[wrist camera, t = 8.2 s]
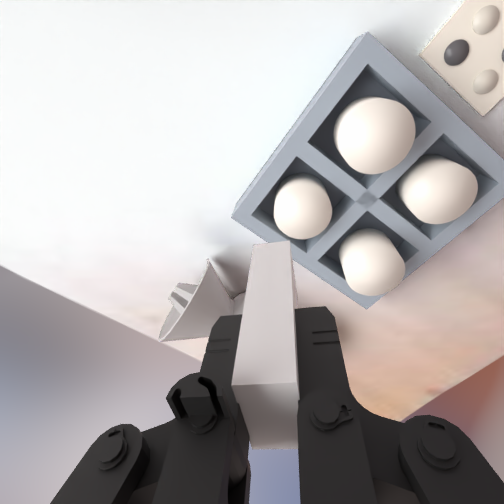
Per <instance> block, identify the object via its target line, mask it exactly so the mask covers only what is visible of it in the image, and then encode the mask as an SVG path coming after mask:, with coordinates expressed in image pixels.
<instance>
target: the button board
mask: <svg viewBox="0 0 504 504" xmlns="http://www.w3.org/2000/svg"><path fill="white" fill-rule="evenodd" d="M367 96H375V97H380V98H385V99H390V100H394V101H397V102H399V103H401V104H403V105H404V106H405V107H406V108H407V109H408V110H409V111H410V113H411V114H412V116H413V119H414V122H415V139H414V142H413V145H412V147H411V149H410V151H409V153H408V154H407V156H406V157H405V158H404V159H403V160H402V161H401V162H400V163H399V164H398V165H397V166H395V167H394V168H392V169H390V170H388V171H386V172H383V173H379V174H364V173H361V172H358V171H356V170H354V169H353V168H352V167H351V166H349V165H348V163H347V162H346V161H345V159H344V158H343V157H342V155H341V154H340V153H339V151H338V150H337V148H336V146H335V143H334V137H333V132H334V126H335V123H336V120H337V118H338V116H339V114H340V113H341V112H342V110H343V109H344V108H345V107H346V106H347V105H348V104H350V103H351V102H353V101H355V100H356V99H359V98H362V97H367ZM427 154H437V155H441V156H443V157H445V158H447V159H449V160H451V161H453V162H455V163H457V164H459V165H461V166H463V167H465V168H467V169H469V170H470V171H471V172H472V173H473V174H474V176H475V177H476V180H477V184H478V190H477V195H476V198H475V200H474V202H473V204H472V205H471V207H470V208H469V209H468V210H467V211H466V212H465V213H464V214H462V215H461V216H460V217H458V218H457V219H455V220H453V221H450V222H447V223H443V224H429V223H425V222H423V221H421V220H419V219H418V218H417V217H416V216H415V215H414V214H413V213H412V212H411V211H410V210H409V209H408V208H407V207H406V206H405V205H404V203H403V202H402V201H401V200H400V199H399V197H398V196H397V193H396V181H397V180H398V179H399V178H400V177H401V176H402V175H403V174H404V173H405V172H406V171H407V170H408V169H409V168H410V167H411V166H412V165H413V164H414V163H415V162H416V161H417V160H418V158H419V157H420V156H422V155H427ZM297 173H307V174H311V175H313V176H315V177H317V178H318V179H319V180H320V181H321V182H322V183H323V185H324V186H325V189H326V191H327V194H328V197H329V200H330V202H331V206H332V217H331V220H330V222H329V224H328V226H327V227H326V228H325V230H324V231H322V232H321V233H320V234H318V235H317V236H315V237H312V238H308V239H295V238H292V237H289V236H287V235H286V234H284V233H283V232H282V231H281V230H280V229H279V228H278V226H277V224H276V222H275V219H274V204H275V194H276V191H277V188H278V186H279V185H280V183H281V182H282V181H283V180H284V179H286V178H287V177H289V176H291V175H293V174H297ZM503 198H504V159H502V158H501V157H500V156H499V155H498V154H497V153H496V152H495V151H494V150H493V149H492V148H491V147H490V146H489V145H488V144H487V143H486V142H484V141H483V140H482V139H481V138H480V137H479V136H478V135H477V134H476V133H475V132H474V131H473V130H472V129H471V128H470V127H469V126H468V125H466V124H465V123H464V122H463V121H462V120H461V119H460V118H459V117H458V116H457V115H456V114H455V113H454V112H453V111H452V110H451V109H450V108H448V107H447V106H446V105H445V104H444V103H443V102H442V101H441V100H440V99H439V98H438V97H437V96H436V95H435V94H434V93H433V92H431V91H430V90H429V89H428V88H427V87H426V86H425V85H424V84H423V83H422V82H421V81H420V80H419V79H418V78H417V77H416V76H415V75H413V74H412V73H411V72H410V71H409V70H408V69H407V68H406V67H405V66H404V65H403V64H402V63H401V62H400V61H399V60H398V59H397V58H395V57H394V56H393V55H392V54H391V53H390V52H389V51H388V50H387V49H386V48H385V47H384V46H383V45H382V44H381V43H380V42H378V41H377V40H376V39H375V38H374V37H373V36H372V35H371V34H370V33H369V32H366V33H364V34H363V35H361V36H359V37H357V38H356V39H355V41H354V42H353V43H352V45H351V46H350V48H349V49H348V50H347V52H346V53H345V54H344V56H343V57H342V59H341V60H340V61H339V63H338V64H337V66H336V67H335V68H334V70H333V71H332V72H331V74H330V75H329V77H328V78H327V79H326V81H325V82H324V83H323V85H322V86H321V88H320V89H319V90H318V92H317V93H316V94H315V96H314V97H313V99H312V100H311V101H310V103H309V104H308V105H307V107H306V108H305V110H304V111H303V112H302V114H301V115H300V117H299V118H298V119H297V121H296V122H295V123H294V125H293V126H292V128H291V129H290V130H289V132H288V133H287V134H286V136H285V137H284V139H283V140H282V141H281V143H280V144H279V145H278V147H277V148H276V150H275V151H274V152H273V154H272V155H271V157H270V158H269V159H268V161H267V162H266V163H265V165H264V166H263V168H262V169H261V170H260V172H259V173H258V174H257V176H256V177H255V179H254V180H253V181H252V183H251V184H250V185H249V187H248V188H247V190H246V191H245V192H244V194H243V195H242V196H241V198H240V199H239V201H238V202H237V204H236V206H235V209H234V211H233V214H232V217H231V218H232V219H234V220H235V221H237V222H238V223H240V224H241V225H243V226H244V227H246V228H247V229H249V230H250V231H252V232H253V233H255V234H256V235H257V236H259V237H260V238H262V239H263V240H265V241H266V242H268V243H273V242H281V241H289V240H290V246H291V253H292V259H293V260H294V261H296V262H297V263H299V264H300V265H302V266H303V267H305V268H306V269H308V270H309V271H311V272H312V273H314V274H315V275H317V276H318V277H320V278H321V279H322V280H324V281H325V282H327V283H328V284H330V285H331V286H333V287H334V288H336V289H337V290H339V291H340V292H342V293H343V294H345V295H346V296H348V297H349V298H351V299H352V300H353V301H355V302H356V303H358V304H359V305H361V306H362V307H364V308H365V309H368V308H369V307H370V306H372V305H373V304H374V303H375V302H377V301H378V300H379V299H380V298H381V297H383V296H384V295H385V294H386V293H385V294H382V295H377V296H366V295H362V294H359V293H357V292H355V291H354V290H352V289H351V288H350V287H349V285H348V283H347V281H346V278H345V275H344V271H343V268H342V265H341V261H340V258H339V248H340V245H341V243H342V242H343V240H344V239H345V238H346V237H347V236H348V235H350V234H351V233H353V232H355V231H357V230H360V229H366V228H371V229H377V230H379V231H382V232H383V233H385V234H386V235H387V236H388V238H389V239H390V241H391V242H392V244H393V245H394V247H395V248H396V250H397V251H398V253H399V254H400V256H401V257H402V259H403V261H404V263H405V274H404V277H403V279H402V280H404V279H405V278H406V277H407V276H408V275H410V274H411V273H412V272H413V271H415V270H416V269H417V268H418V267H419V266H421V265H422V264H423V263H424V262H426V261H427V260H428V259H429V258H430V257H432V256H433V255H434V254H435V253H437V252H438V251H439V250H440V249H441V248H443V247H444V246H445V245H446V244H448V243H449V242H450V241H451V240H452V239H454V238H455V237H456V236H457V235H459V234H460V233H461V232H462V231H463V230H465V229H466V228H467V227H468V226H470V225H471V224H472V223H473V222H475V221H476V220H477V219H478V218H479V217H481V216H482V215H483V214H484V213H486V212H487V211H488V210H489V209H490V208H492V207H493V206H494V205H495V204H497V203H498V202H499V201H500V200H501V199H503ZM387 293H388V292H387Z"/></svg>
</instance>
